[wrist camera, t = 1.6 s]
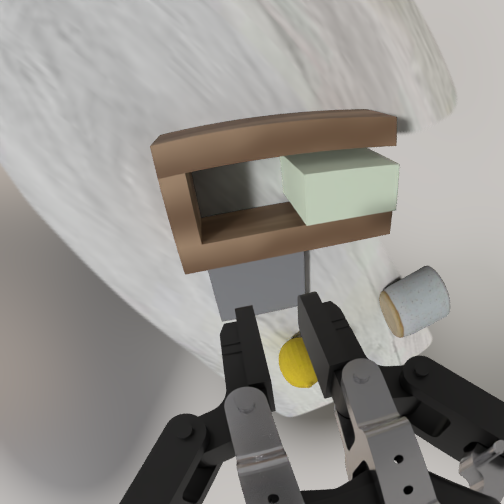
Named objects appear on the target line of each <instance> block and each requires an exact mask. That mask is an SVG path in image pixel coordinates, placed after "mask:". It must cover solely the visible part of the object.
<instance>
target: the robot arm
mask: <svg viewBox="0 0 504 504" xmlns="http://www.w3.org/2000/svg"><path fill="white" fill-rule="evenodd" d="M297 301H298V324H299V330H300V333H301V336H302V339H303V342H304V344H305V347H306V350H307V352H308V355H309V358H310V360H311V363H312V366H313V369H314V371H315V374H316V377H317V379H318V382H319V385H320V388H321V390H322V393H323V396H324V398H329V397H332V398H333V401H334V403H335V407H334V413H335V417H336V420H337V424H338V428H339V431H340V435H341V439H342V442H343V447H344V451H345V465H346V471H347V475H348V479H349V482H347V483H345V484H344V485H342V486H340V487H338V488H336V489H327V490H310V491H309V490H308V491H300V490H299V487H298V484H297V481H296V479H295V476H294V473H293V470H292V467H291V465H290V462H289V459H288V457H287V455H286V452H285V451H284V448H283V446H282V443H281V440H280V437H279V434H278V431H277V428H276V425H275V422H274V419H273V416H272V412H273V411H276V410H275V404H274V397H273V391H272V384H271V379H270V375H269V370H268V366H267V362H266V358H265V354H264V350H263V346H262V342H261V338H260V334H259V330H258V326H257V321H256V317H255V313H254V309H253V305H250V306H245V307H240V308H235V314H236V320H237V322H231V323H226V324H224V325H223V328H222V330H221V333H220V340H221V347H222V348H221V349H222V356H223V357H222V358H223V366H224V374H225V382H226V396H225V398H224V400H223V402H222V403H221V404H220V405H219V406H218V407H217V408H216V409H214V410H212V411H210V412H208V413H205V414H203V415H201V416H199V417H197V416H195V415H192V414H180V415H177V416H175V417H173V418H172V419H171V420H170V421H169V422H168V423H167V425H166V427H165V428H164V430H163V432H162V433H161V435H160V437H159V438H158V440H157V442H156V443H155V445H154V447H153V448H152V450H151V452H150V454H149V455H148V457H147V459H146V460H145V462H144V464H143V465H142V467H141V469H140V470H139V472H138V474H137V475H136V477H135V479H134V481H133V482H132V484H131V485H130V487H129V489H128V490H127V492H126V493H125V495H124V497H123V499H122V500H121V502H120V503H119V504H202V503H203V501H204V499H205V497H206V495H207V493H208V491H209V489H210V487H211V485H212V483H213V481H214V479H215V477H216V475H217V473H218V471H219V469H220V467H221V465H222V463H223V462H224V461H226V460H229V459H231V458H233V457H235V456H236V459H237V471H238V476H239V479H240V483H241V487H242V491H243V494H244V498H245V501H246V504H501V503H500V502H501V500H502V498H503V496H504V402H503V401H501V400H499V399H498V398H496V397H494V396H492V395H491V394H489V393H487V392H486V391H484V390H482V389H481V388H479V387H477V386H476V385H474V384H472V383H471V382H469V381H467V380H466V379H464V378H462V377H460V376H459V375H457V374H455V373H453V372H452V371H450V370H449V369H447V368H445V367H444V366H442V365H440V364H438V363H437V362H435V361H433V360H432V359H430V358H428V357H425V356H414V357H412V358H410V359H409V360H407V362H406V363H405V365H403V366H380V365H377V364H376V363H375V362H373V361H371V360H369V359H368V358H367V357H366V355H365V354H364V352H363V350H362V348H361V346H360V344H359V342H358V340H357V339H356V337H355V335H354V333H353V331H352V329H351V327H350V326H349V324H348V322H347V320H346V319H345V316H344V314H343V313H342V311H341V309H340V308H339V307H338V306H337V305H335V304H334V303H333V302H331V301H328V302H324V303H322V302H321V300H320V298H319V296H318V294H317V292H311V293H306V294H302V295H298V297H297ZM414 433H415V434H416V435H418V436H419V437H421V438H423V439H424V440H426V441H427V442H429V443H430V444H432V445H433V446H435V447H437V448H438V449H440V450H441V451H443V452H445V453H446V454H448V455H450V456H451V457H453V458H454V459H456V460H458V461H459V462H460V465H459V474H460V475H461V476H463V477H464V478H465V479H466V480H467V481H468V483H469V486H470V488H467V487H464V486H462V485H459V484H457V483H454V482H452V481H450V480H447V479H445V478H443V477H441V476H438V475H436V474H434V473H432V472H429V471H428V470H427V467H426V464H425V461H424V459H423V456H422V453H421V450H420V447H419V445H418V442H417V439H416V437H415V434H414ZM394 460H395V461H397V463H398V464H397V463H395V462H394Z"/></svg>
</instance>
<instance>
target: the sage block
mask: <svg viewBox="0 0 504 504" xmlns="http://www.w3.org/2000/svg"><path fill="white" fill-rule="evenodd" d="M280 162H281V173H282V183H283V193H284V194H285V196H286V197H287V199H288V200H289V201H290V203H291V204H292V206H293V207H294V208H295V210H296V211H297V213H298V214H299V216H300V217H301V218H302V220H303V221H304V223H305V224H306V226H309V225H315V224H320V223H326V222H331V221H337V220H342V219H348V218H354V217H360V216H365V215H371V214H377V213H383V212H389V211H394V210H396V204H397V193H398V180H399V164H398V163H396V162H394V161H392V160H390V159H388V158H386V157H384V156H382V155H380V154H378V153H376V152H374V151H372V150H370V149H368V148H353V149H341V150H330V151H320V152H311V153H303V154H295V155H287V156H280Z"/></svg>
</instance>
